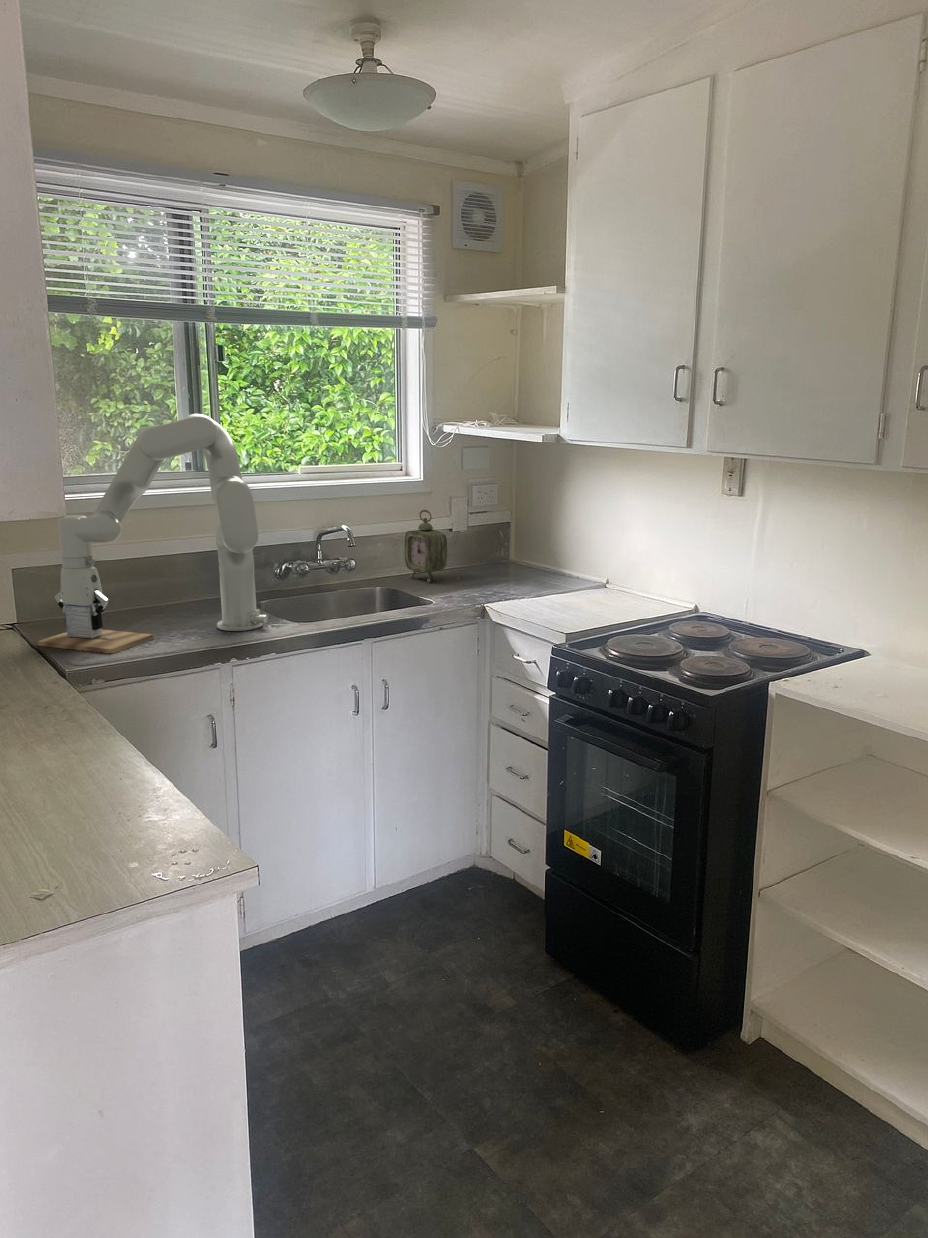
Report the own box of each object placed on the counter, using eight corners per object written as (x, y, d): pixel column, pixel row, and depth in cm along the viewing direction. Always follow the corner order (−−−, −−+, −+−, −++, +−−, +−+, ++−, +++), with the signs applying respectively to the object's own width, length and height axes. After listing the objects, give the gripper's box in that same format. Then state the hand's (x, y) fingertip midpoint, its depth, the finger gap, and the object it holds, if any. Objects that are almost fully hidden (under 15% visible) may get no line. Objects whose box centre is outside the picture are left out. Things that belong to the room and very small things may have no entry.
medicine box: (102, 635, 247) (100, 603, 245) (91, 639, 243) (88, 607, 241) (78, 632, 249) (75, 601, 247) (66, 636, 245) (63, 604, 243)
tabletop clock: (404, 578, 332) (403, 508, 327) (425, 575, 338) (424, 507, 332) (428, 584, 321) (427, 512, 315) (449, 581, 327) (448, 510, 321)
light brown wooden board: (153, 638, 249) (153, 634, 248) (112, 653, 234) (112, 649, 234) (81, 631, 257) (81, 627, 256) (37, 645, 242) (37, 640, 242)
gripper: (114, 562, 242) (120, 627, 246) (61, 558, 248) (68, 622, 252) (94, 567, 235) (101, 633, 239) (40, 563, 241) (47, 628, 245)
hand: (84, 627), depth 246 cm, fingers closed on medicine box, 8 cm apart
